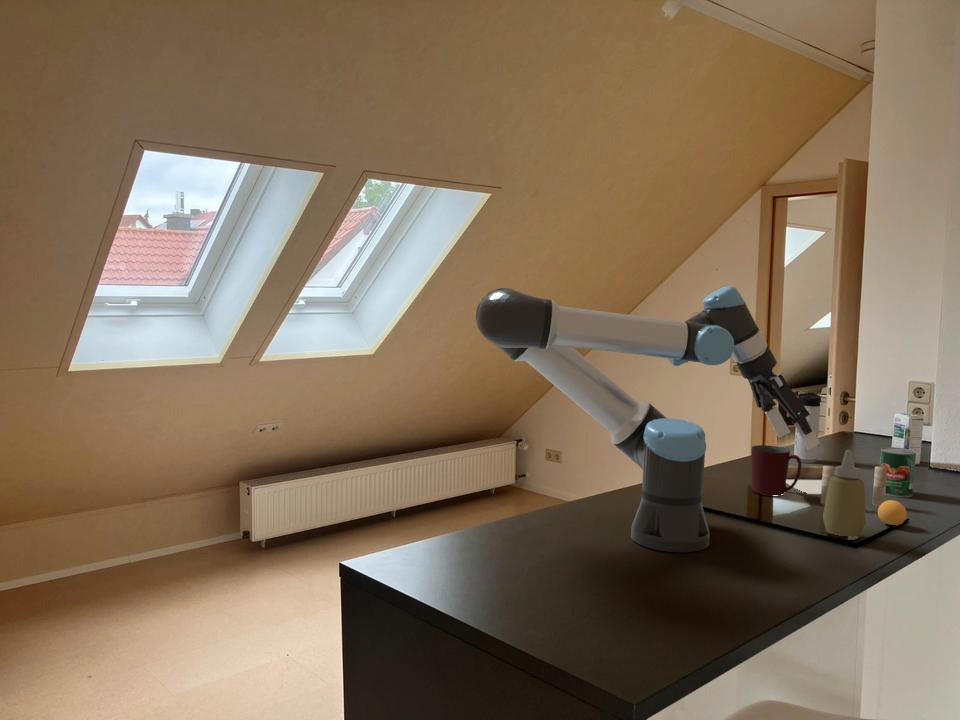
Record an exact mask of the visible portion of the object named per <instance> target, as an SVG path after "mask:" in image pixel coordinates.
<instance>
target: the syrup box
mask: <svg viewBox="0 0 960 720" xmlns="http://www.w3.org/2000/svg"><path fill="white" fill-rule="evenodd" d="M924 418H925V416H921V415H917V414H911V413H906V412H898V413H894V417H893V427H892V441H891V447H896V448H904V449H910V450H913V451H916V460H915V465H920V462H921V451H922V441H923V431H924V430H923V429H924V421H925V420H924Z"/></svg>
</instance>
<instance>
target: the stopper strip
mask: <svg viewBox="0 0 960 720" xmlns="http://www.w3.org/2000/svg"><path fill="white" fill-rule="evenodd" d="M823 466H824V465H821V466H820V465H801V472H800V476H799V479H798V480H822V474H823ZM797 471H798V465H788V471H787V478H786V479H788V480H795V478H796V475H797Z"/></svg>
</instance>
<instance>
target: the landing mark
mask: <svg viewBox="0 0 960 720" xmlns="http://www.w3.org/2000/svg"><path fill="white" fill-rule="evenodd" d="M794 480H795V479H786V484H787V485H789V487H790V486H791V485H792V483H793V482H794ZM793 489H795V490H797V489H798V490H797V491H799V490H800V491H799V492H801V491H802V492H801V493H803V492H806V493H807V494H806V495H820V494H821V489H822V479H798V481H797V483H796V484H795V486H794V487H793Z"/></svg>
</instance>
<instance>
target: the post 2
mask: <svg viewBox="0 0 960 720" xmlns="http://www.w3.org/2000/svg"><path fill="white" fill-rule="evenodd" d="M886 477H887V468H885V467H880V465H879V466H874V475H873V487H872V497H871V499H872V502H871V504H872V506H874V507H879V506H880V505H881V504H882V503H883V502H885V501H886V495H885V490H886Z"/></svg>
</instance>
